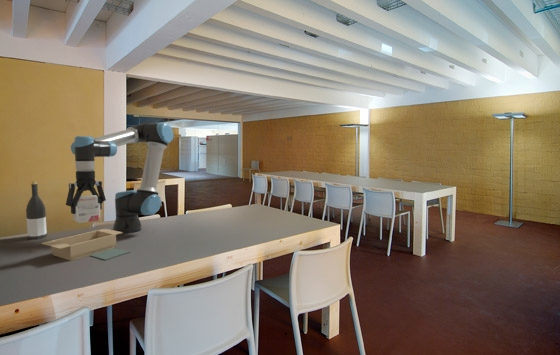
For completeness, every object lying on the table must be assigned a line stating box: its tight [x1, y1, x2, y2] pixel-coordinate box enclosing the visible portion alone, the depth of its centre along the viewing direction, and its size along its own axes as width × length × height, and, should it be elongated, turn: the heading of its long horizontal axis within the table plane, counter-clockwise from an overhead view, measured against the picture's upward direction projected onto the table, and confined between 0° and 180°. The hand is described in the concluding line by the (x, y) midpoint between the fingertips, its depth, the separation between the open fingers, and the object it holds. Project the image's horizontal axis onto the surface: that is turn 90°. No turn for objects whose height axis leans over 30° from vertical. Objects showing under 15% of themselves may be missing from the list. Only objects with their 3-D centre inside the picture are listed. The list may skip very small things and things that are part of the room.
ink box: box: [76, 194, 100, 224], centre depth 147 cm, size 9×5×12 cm, turn 127°
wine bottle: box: [25, 180, 47, 240], centre depth 169 cm, size 8×8×30 cm
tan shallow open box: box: [41, 228, 124, 261], centre depth 150 cm, size 29×15×6 cm, turn 152°
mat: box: [89, 247, 131, 261], centre depth 146 cm, size 12×11×1 cm
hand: (87, 218), depth 148 cm, fingers closed on ink box, 9 cm apart
